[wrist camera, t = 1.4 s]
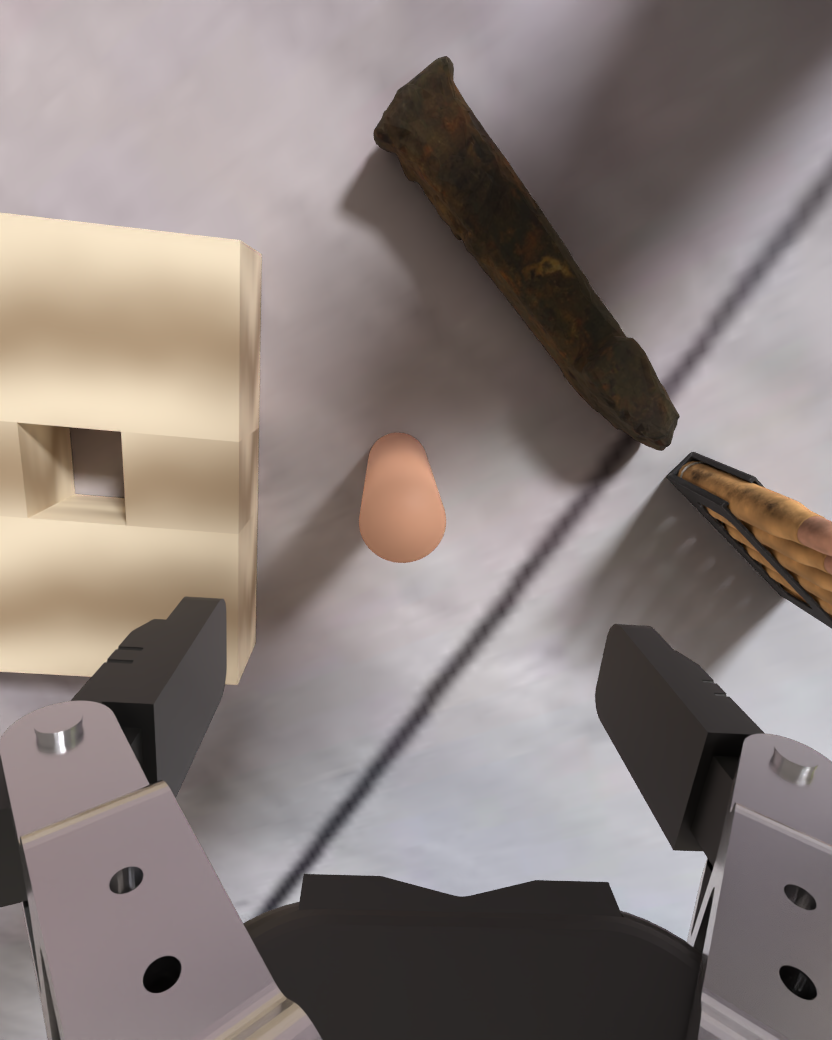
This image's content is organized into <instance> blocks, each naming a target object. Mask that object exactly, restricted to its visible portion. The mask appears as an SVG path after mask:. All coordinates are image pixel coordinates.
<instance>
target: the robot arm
mask: <svg viewBox="0 0 832 1040" xmlns="http://www.w3.org/2000/svg"><path fill="white" fill-rule="evenodd" d="M226 671H227V620H226V603H225V600H224V599H220V598H204V597H188V596H185V597H184V598H183V599H182V600H181V601H180V603H179V604H178V605H177V606H176V608H175V609H174V610H173V611H172V613H171V614H170V615H169V617H168V618H167V619H166V620H165V619H153V620H151V621H149V622H147V623H145V624H144V625H142V626H140V627H138V628H136V629H135V630H133V631H131V632H130V634H129V635H128V636H127V637H126V638H125V639H124V640H123V642H122V643H121V644H120V645H119V646H118V649H116V650H115V651H114V652H113V653H112V654H111V655H110V656H109V658H108V659H107V662H104V663H103V664H102V666H101V667H100V668H99V669H98V670H97V671H96V672H95V674H94V675H93V676H92V677H91V678H90V679H89V680H88V682H87V683H86V684H85V685H84V686H83V687H82V688H81V690H80V691H79V692H78V693H77V694H76V695H75V696H74V698H73V699H72V700H71V701H68V702H61V703H57V704H52V705H49V706H46V707H43V708H40V709H38V710H35V711H33V712H31V713H29V714H27V715H25V716H23V717H22V718H20V719H19V720H17V721H16V722H14V723H13V724H12V725H11V726H10V727H9V728H8V729H7V730H6V731H5V732H4V734H3V735H2V737H1V739H0V907H4V906H8V905H12V904H16V903H20V902H22V908H23V913H24V918H25V923H26V928H27V933H28V939H29V944H30V949H31V954H32V959H33V964H34V969H35V974H36V980H37V985H38V990H39V995H40V1000H41V1005H42V1010H43V1016H44V1021H45V1026H46V1032H47V1038H48V1040H832V762H831V761H830V760H829V759H828V758H826V757H825V756H823V755H822V754H821V753H819V752H817V751H816V750H814V749H812V748H810V747H808V746H806V745H804V744H802V743H800V742H797V741H795V740H792V739H789V738H786V737H782V736H778V735H773V734H765V733H764V732H763V731H762V730H761V729H760V728H759V727H758V726H757V725H756V724H755V723H754V722H753V721H752V720H751V719H750V718H749V717H748V716H747V715H746V713H745V712H744V711H743V710H742V709H741V708H740V707H739V706H738V705H737V704H736V703H735V702H734V701H733V700H732V699H731V698H730V697H726V693H725V692H724V691H723V690H722V689H721V688H720V687H719V686H718V684H715V683H714V682H713V681H714V680H713V679H712V678H711V677H710V676H709V675H708V674H707V673H706V672H705V671H704V670H703V669H702V668H701V667H700V666H699V665H698V664H696V663H695V662H693V661H692V660H690V659H688V658H687V657H685V656H684V655H682V654H680V653H679V652H677V651H674V650H673V649H672V648H671V647H670V646H669V645H668V643H667V642H666V641H665V640H664V639H663V638H662V637H661V636H660V635H659V634H658V633H657V632H656V631H655V630H654V629H653V628H652V627H650V626H638V625H622V624H614V625H613V626H612V627H611V628H610V630H609V632H608V635H607V640H606V644H605V649H604V653H603V658H602V663H601V667H600V672H599V677H598V681H597V686H596V693H595V702H596V709H597V714H598V717H599V719H600V721H601V723H602V725H603V726H604V728H605V730H606V732H607V733H608V735H609V737H610V739H611V740H612V742H613V744H614V746H615V748H616V749H617V751H618V753H619V755H620V756H621V758H622V760H623V762H624V763H625V765H626V767H627V769H628V771H629V772H630V774H631V776H632V778H633V779H634V781H635V783H636V785H637V786H638V788H639V790H640V792H641V794H642V795H643V797H644V799H645V801H646V802H647V804H648V806H649V808H650V809H651V811H652V813H653V815H654V817H655V818H656V820H657V822H658V824H659V825H660V827H661V829H662V831H663V832H664V834H665V836H666V838H667V840H668V841H669V843H670V845H671V847H672V848H673V850H681V851H704V853H705V854H706V856H707V860H706V863H705V866H704V870H703V873H702V876H701V881H700V885H699V890H698V894H697V898H696V903H695V907H694V912H693V916H692V920H691V925H690V929H689V934H688V938H687V942H686V941H684V940H683V939H681V938H679V937H678V936H676V935H674V934H673V933H671V932H669V931H668V930H666V929H664V928H662V927H660V926H658V925H656V924H654V923H652V922H650V921H648V920H645V919H643V918H640V917H637V916H635V915H632V914H629V913H626V912H623V911H620V910H619V907H618V905H617V902H616V900H615V898H614V895H613V893H612V890H611V888H610V885H609V883H608V882H581V881H544V880H535V881H531V882H526V883H522V884H518V885H514V886H510V887H505V888H501V889H497V890H493V891H488V892H484V893H480V894H476V895H472V896H466V897H459V896H453V895H450V894H446V893H442V892H438V891H435V890H431V889H427V888H423V887H420V886H416V885H412V884H408V883H405V882H401V881H397V880H393V879H390V878H386V877H382V876H356V875H319V874H304V876H303V883H302V889H301V896H300V902H297V903H293V904H289V905H285V906H282V907H279V908H276V909H273V910H271V911H268V912H265V913H263V914H261V915H259V916H257V917H255V918H253V919H251V920H249V921H247V922H245V923H243V922H242V921H241V919H240V917H239V915H238V913H237V911H236V909H235V908H234V906H233V904H232V902H231V900H230V898H229V896H228V895H227V893H226V891H225V889H224V887H223V885H222V884H221V882H220V880H219V878H218V876H217V874H216V872H215V871H214V869H213V867H212V865H211V863H210V861H209V859H208V858H207V856H206V854H205V852H204V850H203V848H202V846H201V845H200V843H199V841H198V839H197V837H196V835H195V834H194V832H193V830H192V828H191V826H190V824H189V822H188V821H187V819H186V817H185V815H184V813H183V811H182V809H181V808H180V806H179V804H178V802H177V800H176V796H177V794H178V792H179V789H180V787H181V785H182V783H183V781H184V779H185V776H186V774H187V772H188V770H189V768H190V765H191V763H192V761H193V759H194V757H195V755H196V752H197V750H198V748H199V746H200V744H201V742H202V739H203V737H204V735H205V733H206V731H207V728H208V726H209V724H210V722H211V720H212V718H213V715H214V713H215V711H216V709H217V707H218V705H219V702H220V700H221V698H222V695H223V691H224V686H225V681H226Z"/></svg>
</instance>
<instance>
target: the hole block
mask: <svg viewBox="0 0 832 1040" xmlns="http://www.w3.org/2000/svg"><path fill="white" fill-rule="evenodd" d="M261 267H262V254H260V253H259V252H257V251H256V250H254V249H253V248H251V247H250V246H248V245H247V244H245V243H244V242H242V241H240V240H234V239H225V238H216V237H207V236H199V235H190V234H181V233H172V232H164V231H155V230H146V229H138V228H129V227H120V226H111V225H103V224H94V223H85V222H76V221H68V220H59V219H50V218H41V217H33V216H24V215H15V214H7V213H0V672H16V673H34V674H51V675H69V676H87V677H92V676H93V675H94V674H95V672H96V671H97V670H98V669H99V668H100V667H101V666H102V664H103V663H104V662H107V659H108V658H109V656H110V655H111V654H112V653H113V652H114V651H115V650H116V649H118V646H119V645H120V644H121V643H122V642H123V640H124V639H125V638H126V637H127V636H128V635H129V634H130V632H131V631H133V630H135V629H136V628H138V627H140V626H142V625H144V624H145V623H147V622H149V621H151V620H153V619H165V620H166V619H167V618H168V617H169V615H170V614H171V613H172V611H173V610H174V609H175V608H176V606H177V605H178V604H179V603H180V601H181V600H182V599H183V598H184V597H185V596H188V597H204V598H220V599H224V600H225V603H226V620H227V671H226V681H225V684H229V685H238V683H239V681H240V679H241V676H242V674H243V672H244V669H245V667H246V665H247V662H248V660H249V658H250V655H251V653H252V651H253V648H254V646H255V644H256V584H257V521H258V457H259V394H260V331H261ZM70 427H74V428H85V429H97V430H108V431H119V432H121V440H122V457H123V474H124V492H125V498H117V497H104V496H92V495H79V494H75V486H74V475H73V463H72V451H71V439H70Z"/></svg>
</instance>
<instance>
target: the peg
mask: <svg viewBox="0 0 832 1040" xmlns="http://www.w3.org/2000/svg"><path fill="white" fill-rule="evenodd" d="M445 527H446V514H445V510H444V507H443V504H442V501H441V498H440V495H439V492H438V489H437V486H436V483H435V480H434V477H433V474H432V471H431V468H430V465H429V462H428V459H427V456H426V453H425V450H424V448H423V446H422V445H421V443H420V442H419V441H418V440H417V439H415V438H414V437H412V436H411V435H408V434H405V433H390V434H387V435H385V436H383V437H381V438H380V439H378V440H377V441H376V442H375V444H374V445H373V446H372V448H371V450H370V453H369V457H368V464H367V470H366V477H365V483H364V490H363V496H362V503H361V509H360V516H359V528H360V532H361V536H362V538H363V540H364V542H365V543H366V545H367V546H368V547H369V549H370V550H371V551H372V552H374V553H375V554H376V555H378V556H379V557H381V558H383V559H385V560H388V561H392V562H398V563H406V562H412V561H416V560H419V559H421V558H423V557H425V556H427V555H428V554H430V553H431V552H432V551H433V550H434V549H435V548H436V547H437V546H438V544H439V543H440V541H441V539H442V537H443V535H444V532H445Z"/></svg>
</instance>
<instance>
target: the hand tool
mask: <svg viewBox="0 0 832 1040" xmlns="http://www.w3.org/2000/svg"><path fill="white" fill-rule="evenodd" d="M453 73H454V67H453V63H452V62H451V60H450V59H449V58H448V57H447V56H445V57H441V58H438V59H436V60H435V61H434V62H432V63H431V64H430V65H429V66H428V67H426V68H425V69H424V70H423V71H422V72H421V73H419V74H418V75H417V76H416V77H415V78H413V79H412V80H411V81H410V82H409V83H407V84H406V85H404V86H403V87H402V88H400V89H399V90H398V91H397V93H396V95H395V97H394V99H393V101H392V102H391V104H390V105H389V107H388V108H387V110H386V111H384V113H383V116H382V119H381V120H380V122H379V123H378V125H377V127H376V128H375V130H374V140H375V142H376V144H377V145H379V147H380V148H382V149H384V150H386V151H388V152H393V153H396V155H397V156H398V158H399V160H400V163H401V166H402V168H403V171H404V173H405V175H406V177H407V178H408V179H409V180H411V181H415V182H418V183H419V184H420V186H421V187H422V188H423V190H424V193H425V194H426V196H427V197H428V199H429V200H430V201H431V203H432V204H433V205H434V206H435V208H436V210H437V212H438V214H439V215H440V217H441V218H442V219H443V220H444V221H445V222H446V223H447V224H448V225H449V226H450V228H451V230H452V232H453V234H454V235H455V237H456V238H457V239H458V240H463V242H464V244H465V247H466V249H467V251H469V252H470V253H471V254H472V255H473V256H474V257H475V258H476V260H477V261H478V263H479V264H480V266H481V267H482V269H483V270H484V271H485V272H486V273H487V274H488V275H489V277H490V278H491V279H492V280H493V282H494V283H495V284H496V286H497V287H498V288H499V289H500V291H501V292H502V293H503V295H504V296H505V297H506V298H507V300H508V301H509V302H510V303H511V305H512V306H513V307H514V308H515V310H516V311H517V312H518V314H519V315H520V316H521V317H522V319H523V320H524V321H525V323H526V324H527V326H528V327H529V328H530V330H531V331H532V332H533V334H534V335H535V336H536V337H537V339H538V340H539V341H540V342H541V343H542V345H543V346H544V347H545V349H546V350H547V352H548V353H549V354H550V355H551V357H552V358H553V359H554V360H555V362H556V363H557V364H558V366H559V367H560V369H561V370H562V372H563V374H564V377H565V378H566V379H567V381H568V382H569V383H570V384H571V385H572V386H573V387H574V389H575V390H576V391H577V392H578V393H579V394H580V395H581V396H582V397H583V398H584V400H585V401H586V402H587V403H588V404H589V405H590V406H591V407H592V408H593V409H595V410H596V411H597V412H600V413H601V414H602V415H603V416H604V417H605V418H606V419H607V420H608V421H609V422H610V423H611V424H612V425H613V426H614V427H615V428H616V429H621V430H622V431H624V432H625V433H627V434H628V435H630V436H631V437H632V438H634V440H637V441H638V442H640V443H642V444H644V445H646V446H648V447H652V448H654V449H656V450H661V451H662V450H664V449H665V448H666V447H668V446H669V445H670V444H671V441H672V438H673V433H674V430H675V428H676V426H677V421H678V418H679V417H680V416H679V414H678V412H677V411H676V409H675V407H674V405H673V404H672V402H671V400H670V398H669V396H668V394H667V392H666V390H665V388H664V387H663V385H662V384H661V383H660V381H659V379H658V377H657V375H656V373H655V371H654V369H653V367H652V365H651V363H650V361H649V359H648V357H647V355H646V353H645V352H644V350H643V349H642V348H641V347H640V345H639V344H638V343H637V342H636V341H635V340H634V339H633V338H627V337H626V336H625V335H624V333H623V332H622V330H621V328H620V326H619V324H618V323H617V322H616V320H615V319H614V318H613V316H612V315H611V314H610V312H609V311H608V310H607V308H606V307H605V306H604V304H603V303H602V301H601V300H600V299H599V297H598V296H597V295H596V294H595V293H594V291H593V289H592V288H591V286H590V284H589V282H588V280H587V278H586V276H585V275H584V274H583V273H582V271H581V270H580V269H579V267H578V266H577V264H576V263H575V261H574V260H573V258H572V256H571V254H570V253H569V251H568V249H567V248H566V246H565V245H564V243H563V242H562V240H561V239H560V238H559V236H558V235H557V233H556V232H555V230H554V229H553V227H552V226H551V224H550V223H549V221H548V220H547V218H546V217H545V216H544V214H543V213H542V211H541V209H540V208H539V206H538V205H537V203H536V202H535V201H534V199H533V198H532V197H531V195H530V194H529V192H528V191H527V189H526V188H525V186H524V185H523V183H522V182H521V180H520V179H519V178H518V176H517V175H516V173H515V172H514V170H513V169H512V167H511V165H510V164H509V162H508V161H507V160H506V158H505V157H504V155H503V154H502V153H501V151H500V150H499V149H498V147H497V146H496V145H495V143H494V142H493V141H492V139H491V138H490V137H489V135H488V134H487V133H486V131H485V130H484V128H483V127H482V125H481V124H480V122H479V121H478V119H477V118H476V117H475V115H474V113H473V112H472V110H471V109H470V107H469V106H468V105H467V103H466V102H465V100H464V99H463V97H462V95H461V94H460V92H459V90H458V89H457V87H456V85H455V83H454V81H453Z"/></svg>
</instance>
